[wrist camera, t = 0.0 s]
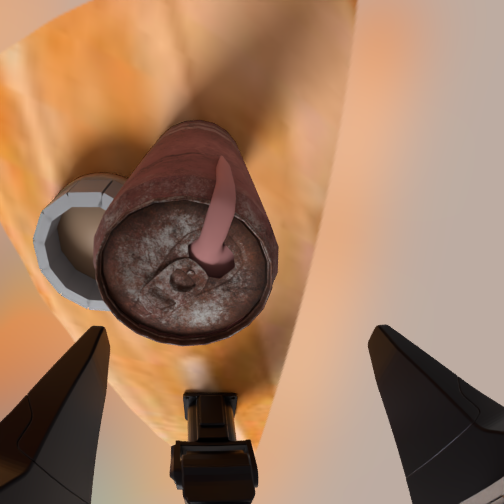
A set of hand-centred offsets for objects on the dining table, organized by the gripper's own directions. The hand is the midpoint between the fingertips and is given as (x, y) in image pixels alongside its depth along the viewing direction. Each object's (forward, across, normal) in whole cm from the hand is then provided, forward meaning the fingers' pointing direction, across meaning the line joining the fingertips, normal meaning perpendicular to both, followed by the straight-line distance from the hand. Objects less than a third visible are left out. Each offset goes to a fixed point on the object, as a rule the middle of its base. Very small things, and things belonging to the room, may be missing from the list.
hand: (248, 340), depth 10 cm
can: (+15, +2, -2) cm, 15 cm away
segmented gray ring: (+15, +9, +4) cm, 18 cm away
